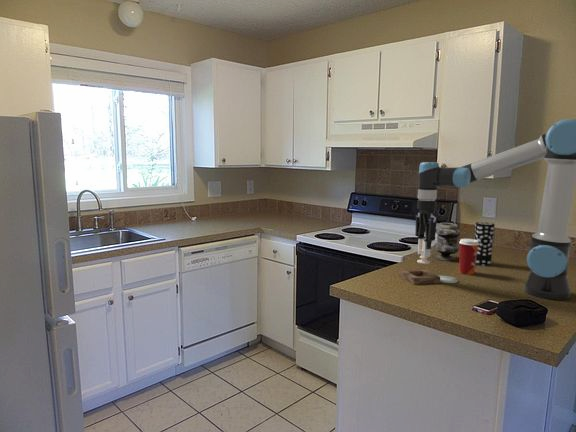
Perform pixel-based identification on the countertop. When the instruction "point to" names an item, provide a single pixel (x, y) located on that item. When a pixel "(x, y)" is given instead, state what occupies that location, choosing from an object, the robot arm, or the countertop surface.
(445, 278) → the coaster
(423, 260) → the candle
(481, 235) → the spotted tube
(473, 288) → the countertop surface
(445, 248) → the apothecary jar
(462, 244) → the coffee cup
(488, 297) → the countertop surface
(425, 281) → the holder
